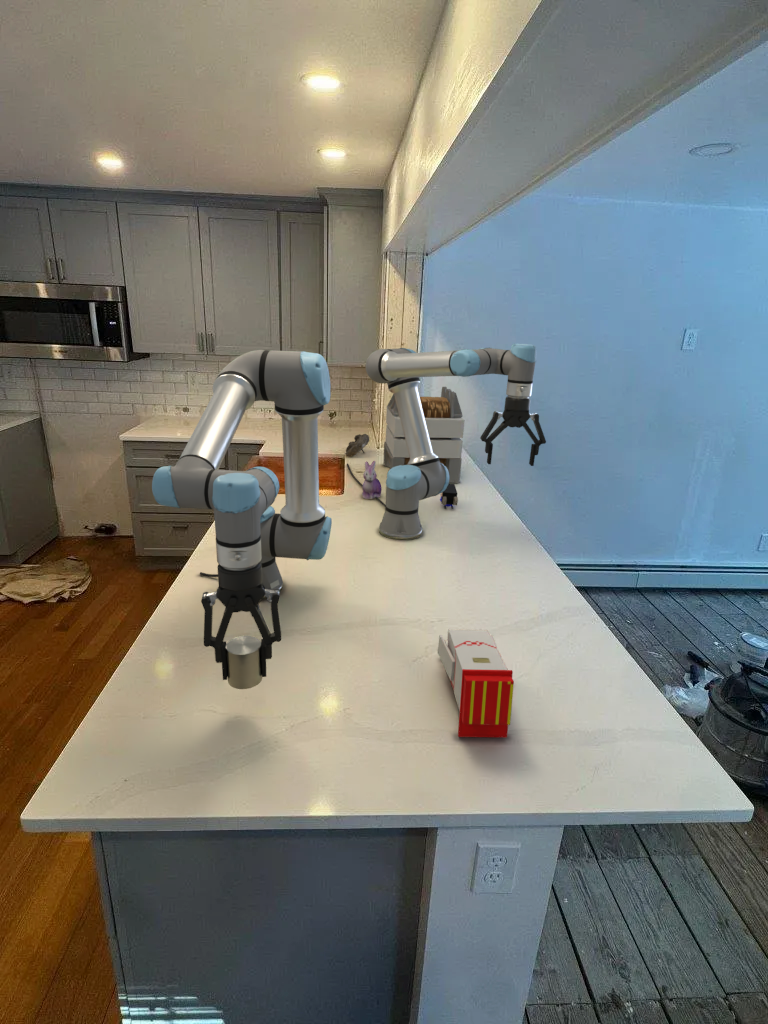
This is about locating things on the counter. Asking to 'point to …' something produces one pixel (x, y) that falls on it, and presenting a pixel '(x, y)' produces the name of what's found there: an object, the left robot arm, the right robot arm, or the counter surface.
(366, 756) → the counter surface
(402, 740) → the counter surface
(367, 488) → the figurine
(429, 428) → the grey slatted crate
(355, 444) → the fossil
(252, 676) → the tin
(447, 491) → the figurine character
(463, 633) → the toy
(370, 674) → the counter surface
